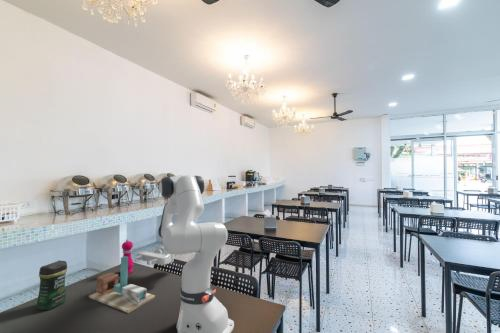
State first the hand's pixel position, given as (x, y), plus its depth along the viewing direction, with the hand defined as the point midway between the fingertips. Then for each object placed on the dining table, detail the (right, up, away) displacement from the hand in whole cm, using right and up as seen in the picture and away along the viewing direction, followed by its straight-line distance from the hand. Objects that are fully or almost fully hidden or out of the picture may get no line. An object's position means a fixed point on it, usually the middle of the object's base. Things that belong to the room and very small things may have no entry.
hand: (141, 261), depth 119 cm
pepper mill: (-18, -15, +20) cm, 31 cm away
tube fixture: (-5, -13, -9) cm, 17 cm away
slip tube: (-1, -11, -11) cm, 15 cm away
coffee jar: (-33, -13, -15) cm, 39 cm away
